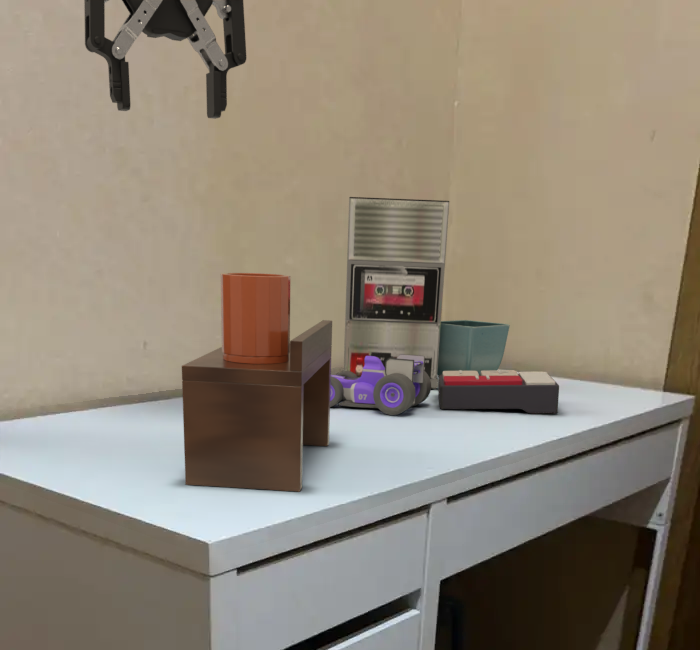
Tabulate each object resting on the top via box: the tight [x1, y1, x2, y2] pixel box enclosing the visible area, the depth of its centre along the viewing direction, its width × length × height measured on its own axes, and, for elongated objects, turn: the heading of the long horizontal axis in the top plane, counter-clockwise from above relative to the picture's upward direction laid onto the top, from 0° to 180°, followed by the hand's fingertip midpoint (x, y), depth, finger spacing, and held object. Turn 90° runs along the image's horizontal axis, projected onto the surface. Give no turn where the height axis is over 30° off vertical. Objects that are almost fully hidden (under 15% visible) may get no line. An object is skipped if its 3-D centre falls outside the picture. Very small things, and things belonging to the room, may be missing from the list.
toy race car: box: [330, 354, 432, 416], centre depth 119 cm, size 10×15×6 cm, turn 70°
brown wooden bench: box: [181, 319, 333, 492], centre depth 87 cm, size 10×20×12 cm, turn 174°
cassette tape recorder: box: [343, 196, 450, 390], centre depth 133 cm, size 14×6×25 cm, turn 91°
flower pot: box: [437, 319, 511, 378], centre depth 139 cm, size 9×9×9 cm
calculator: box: [437, 369, 560, 415], centre depth 124 cm, size 11×4×15 cm
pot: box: [220, 272, 291, 364], centre depth 81 cm, size 6×6×7 cm
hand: (169, 114), depth 86 cm, fingers open, 8 cm apart
